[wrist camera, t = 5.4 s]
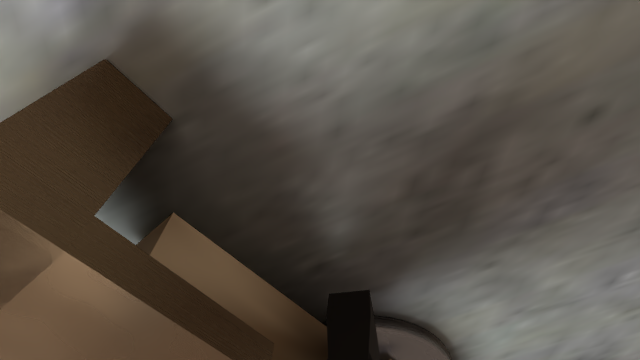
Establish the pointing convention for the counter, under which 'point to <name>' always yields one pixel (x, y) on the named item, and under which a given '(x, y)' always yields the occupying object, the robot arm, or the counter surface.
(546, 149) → the counter surface
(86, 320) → the keeper
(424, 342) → the pintle base
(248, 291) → the link
